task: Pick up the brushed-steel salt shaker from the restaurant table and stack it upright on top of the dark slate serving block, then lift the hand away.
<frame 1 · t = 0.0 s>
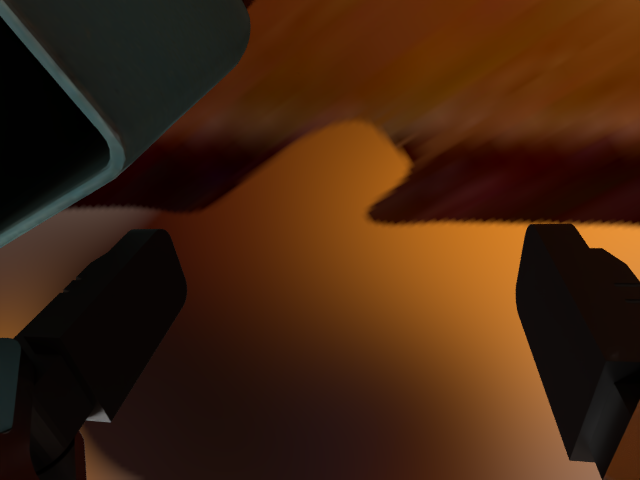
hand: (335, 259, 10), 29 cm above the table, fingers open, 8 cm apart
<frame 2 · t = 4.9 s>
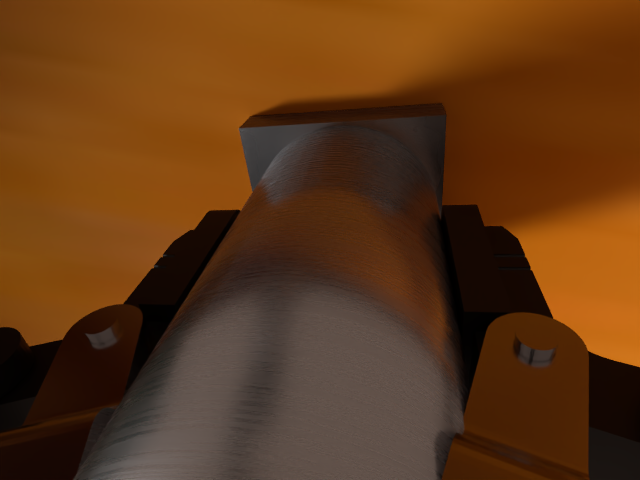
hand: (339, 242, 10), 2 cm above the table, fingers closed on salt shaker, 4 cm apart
salt shaker: (349, 196, 12), on the table, touching gripper
when the fingers open (7 cm above the table, at t = 11.9 s): salt shaker drops 1 cm, point 4 cm above the table.
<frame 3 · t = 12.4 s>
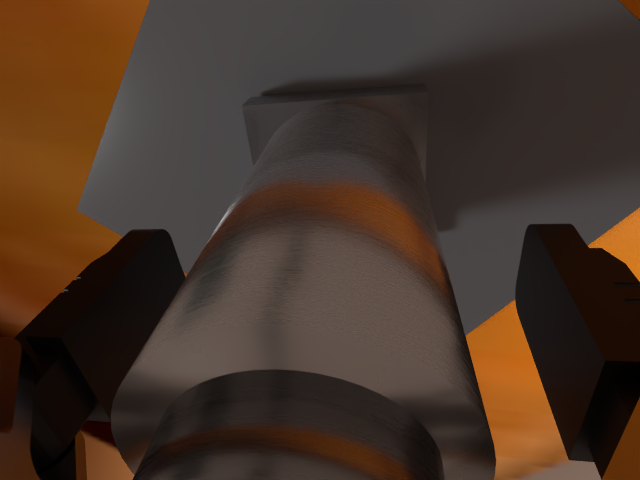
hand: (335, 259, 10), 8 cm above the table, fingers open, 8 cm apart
salt shaker: (341, 171, 13), point 4 cm above the table
slate block: (361, 133, 17), on the table
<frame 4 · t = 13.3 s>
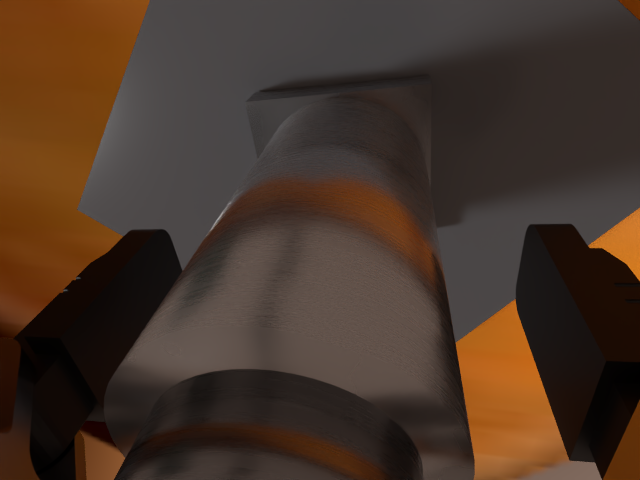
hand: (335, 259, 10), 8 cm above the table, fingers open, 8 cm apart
salt shaker: (346, 165, 13), point 3 cm above the table
slate block: (361, 133, 17), on the table
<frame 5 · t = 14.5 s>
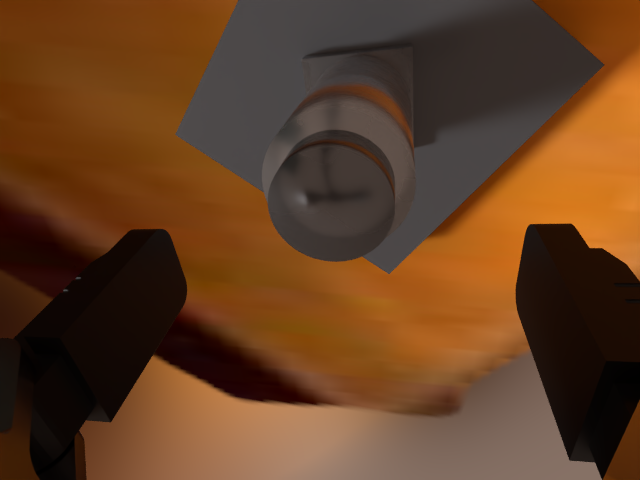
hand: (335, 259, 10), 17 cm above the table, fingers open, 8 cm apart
salt shaker: (361, 103, 21), point 3 cm above the table, touching slate block
slate block: (369, 85, 24), on the table, touching salt shaker
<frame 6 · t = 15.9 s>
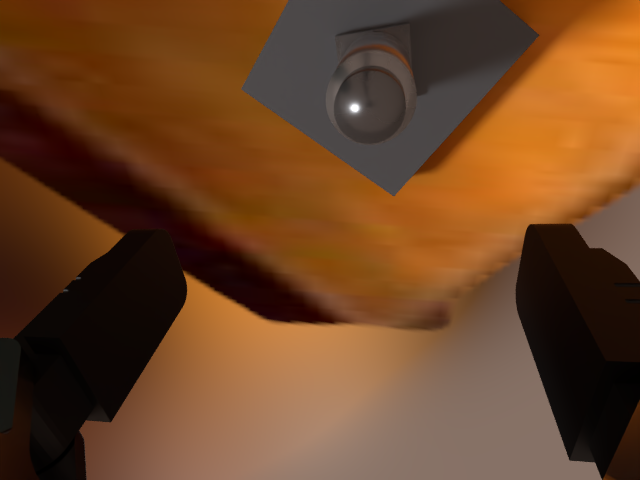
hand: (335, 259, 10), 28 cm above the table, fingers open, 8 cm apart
salt shaker: (375, 66, 30), point 3 cm above the table, touching slate block
slate block: (380, 54, 34), on the table, touching salt shaker
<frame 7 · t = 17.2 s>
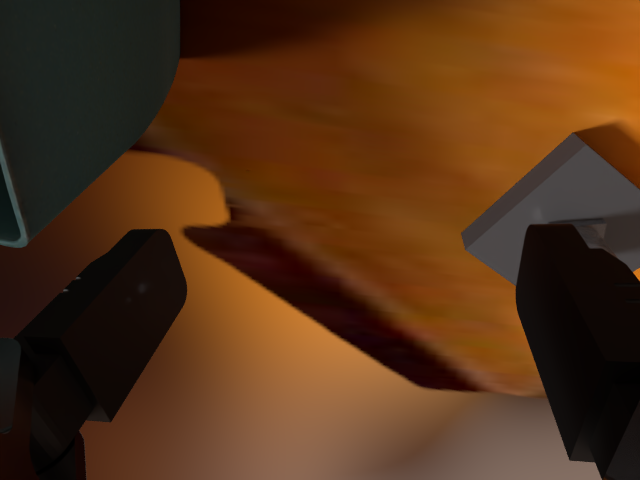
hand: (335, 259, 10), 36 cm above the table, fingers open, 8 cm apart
salt shaker: (571, 241, 44), point 3 cm above the table
slate block: (559, 222, 47), on the table
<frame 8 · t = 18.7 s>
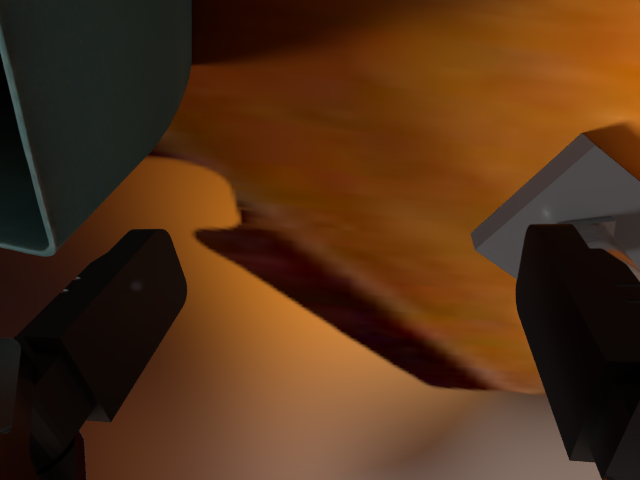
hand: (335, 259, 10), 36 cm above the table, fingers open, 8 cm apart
salt shaker: (581, 239, 44), point 3 cm above the table, touching slate block
slate block: (568, 222, 47), on the table, touching salt shaker
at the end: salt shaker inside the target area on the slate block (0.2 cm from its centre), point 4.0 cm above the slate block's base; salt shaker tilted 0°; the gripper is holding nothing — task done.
